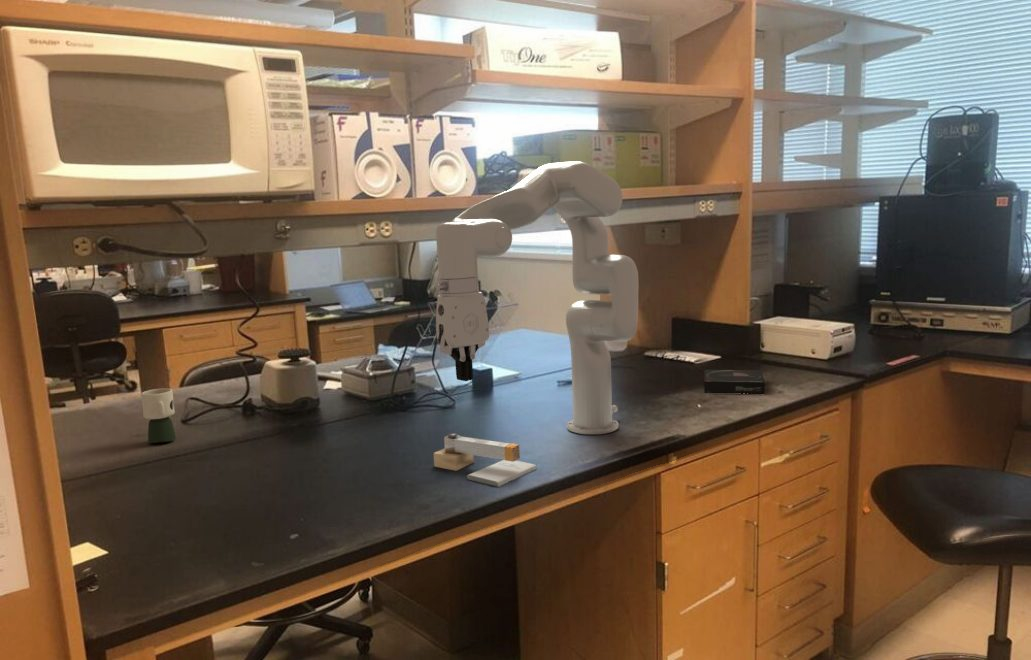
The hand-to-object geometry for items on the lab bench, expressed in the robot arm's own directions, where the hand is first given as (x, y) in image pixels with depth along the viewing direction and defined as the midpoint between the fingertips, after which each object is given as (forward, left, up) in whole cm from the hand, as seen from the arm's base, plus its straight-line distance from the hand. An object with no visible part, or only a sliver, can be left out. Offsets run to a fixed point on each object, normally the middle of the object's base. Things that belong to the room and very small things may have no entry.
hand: (464, 379), depth 150 cm
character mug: (+14, -87, -21) cm, 91 cm away
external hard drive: (-7, +3, -22) cm, 23 cm away
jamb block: (-7, -10, -21) cm, 24 cm away
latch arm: (-8, -3, -18) cm, 20 cm away
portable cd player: (-101, +19, -22) cm, 105 cm away
